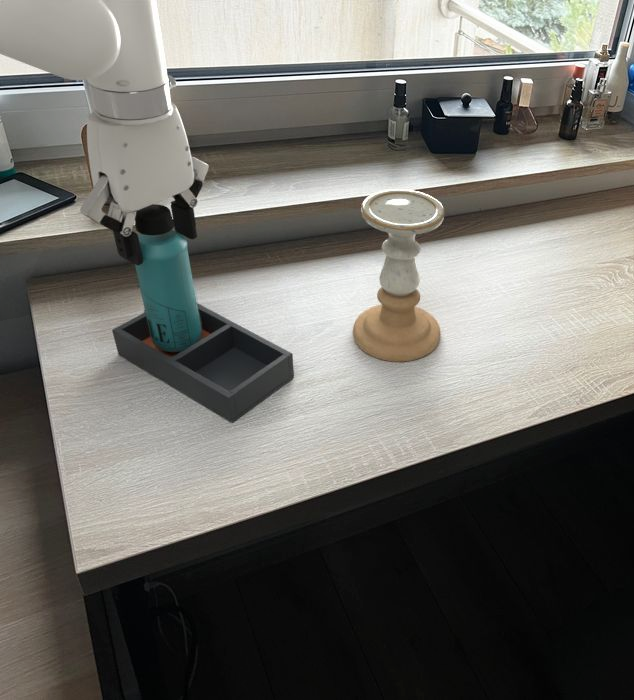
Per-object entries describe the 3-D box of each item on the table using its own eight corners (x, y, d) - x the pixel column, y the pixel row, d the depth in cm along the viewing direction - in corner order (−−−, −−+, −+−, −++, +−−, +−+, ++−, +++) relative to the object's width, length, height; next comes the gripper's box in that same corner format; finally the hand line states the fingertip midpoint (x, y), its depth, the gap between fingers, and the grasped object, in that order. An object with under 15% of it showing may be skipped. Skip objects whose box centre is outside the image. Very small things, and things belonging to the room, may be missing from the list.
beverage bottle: (212, 335, 97) (192, 200, 85) (192, 366, 92) (168, 227, 80) (165, 328, 97) (137, 192, 85) (142, 359, 92) (110, 219, 80)
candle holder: (445, 362, 99) (458, 232, 86) (354, 363, 97) (354, 231, 84) (434, 309, 108) (445, 186, 96) (351, 310, 106) (351, 183, 94)
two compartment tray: (232, 423, 86) (228, 398, 83) (118, 355, 93) (111, 329, 91) (294, 377, 93) (292, 353, 91) (184, 317, 101) (179, 293, 98)
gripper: (175, 70, 82) (195, 211, 93) (29, 109, 70) (72, 265, 81) (222, 88, 79) (238, 231, 90) (79, 131, 67) (117, 290, 78)
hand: (159, 246), depth 85 cm, fingers open, 7 cm apart
